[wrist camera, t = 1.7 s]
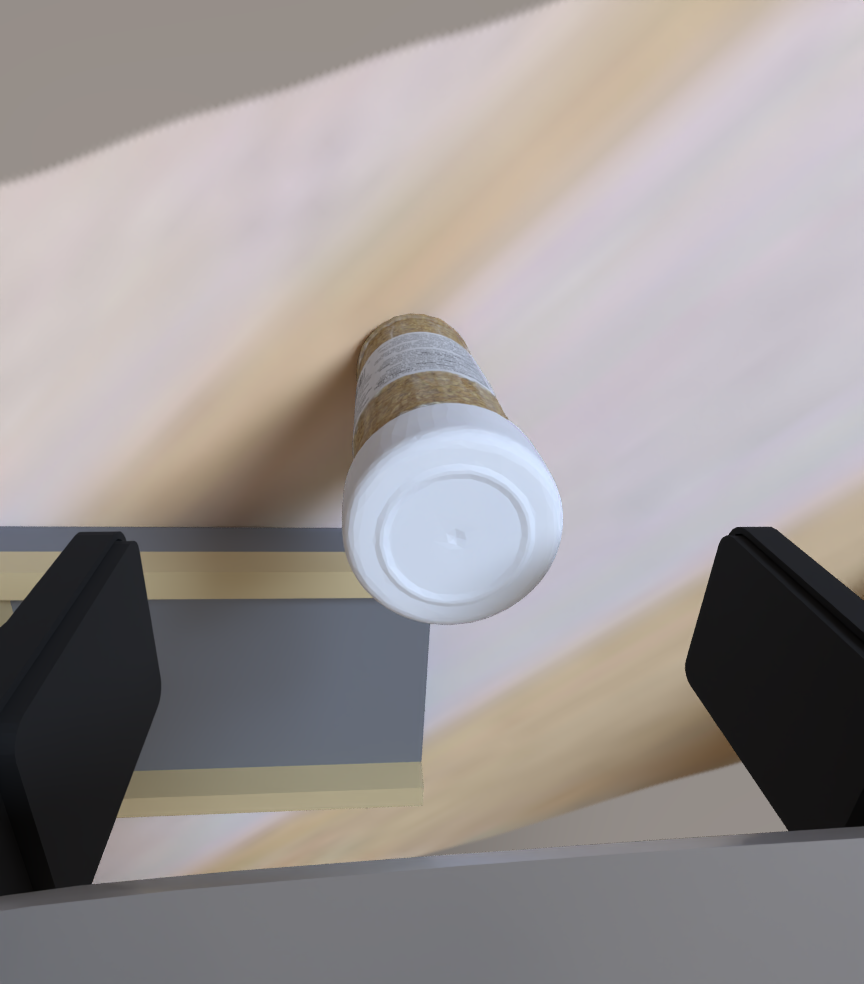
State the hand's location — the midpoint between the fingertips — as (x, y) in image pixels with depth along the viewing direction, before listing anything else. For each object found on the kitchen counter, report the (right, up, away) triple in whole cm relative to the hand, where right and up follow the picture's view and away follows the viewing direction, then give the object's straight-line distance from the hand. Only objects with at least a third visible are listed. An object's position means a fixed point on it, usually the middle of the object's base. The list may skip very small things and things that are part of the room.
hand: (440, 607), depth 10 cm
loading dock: (-10, -6, +19) cm, 22 cm away
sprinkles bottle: (-1, +7, +15) cm, 16 cm away
